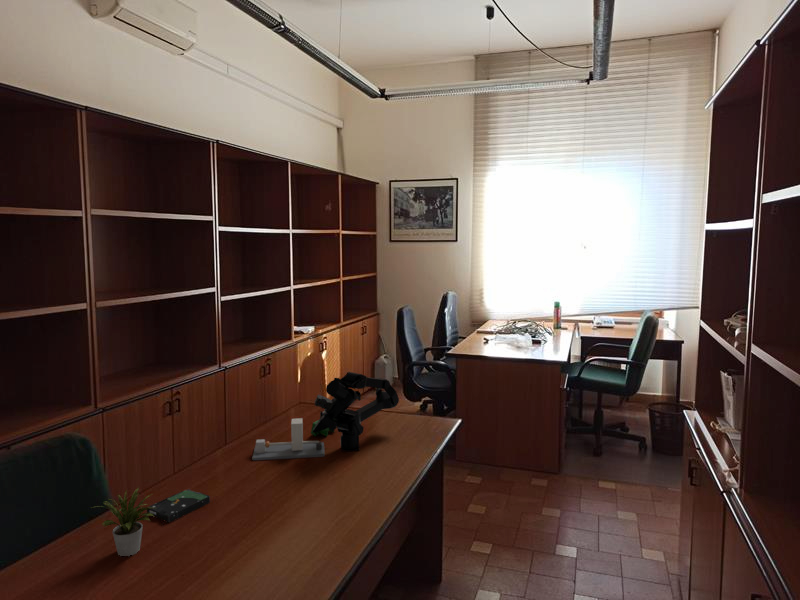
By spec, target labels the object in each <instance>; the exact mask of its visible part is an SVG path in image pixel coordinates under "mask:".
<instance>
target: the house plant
mask: <svg viewBox="0 0 800 600" xmlns="http://www.w3.org/2000/svg"><path fill="white" fill-rule="evenodd" d="M127 490H128V489H125V492H124V497H123V498H122V496H121V495H120V494H119V493H117V494H116V495H117V498H118V502H119V504H120V506H119V504H118V503H117V501H115V500H114V499H110V498H109V500H111V501H113V502H114V503H115V504H116V505H117V508H116V507H115V506H114V505H112V504H111V503H110V502H109V501H105V500H104V502H102V504H103V505H105V506H103V505H101V506H100V505H97V506H93V507H91V509H92V508H96V507H97V508H98V507H99V508H100V507H103V508H106V509H108V510H109V511H110V512H111V513H112V516H115V517H116V518H117V519H118V522H119V523H117V522H115V521H114V520H111V519H107V520H104V521H103V522H102V524H101V526H104V527H107V526H110V525H117V526H115V527H114V528H113V530H112V535H113V539H114V544H115V548H116V551H117V555H118V556H119V555H120V556H119V557H121V556H128V557H131V556H130V555H132V556H134V555H136V554H138V553H139V552H140V549H141V544H142V534H143V526H144V525H143V523H141V522H140V521H149V522H151V520H150V518H149V517H152V516H153V514H152V513H147V512H144V511H147V509H151V508H153V507H149V506H150V505H149V504H147V503H144V502H145V500H146V499H148V498H149V497H151V496H152V495H153V493H151V494H149V495H147V496H145V497H144V498H142V500H141V501H140V502H139V503H138V505H137V506H135V503H136V501H137V498H138V496H139V494H140V492H141V491H140V487H137V488H135V490H134V492H133V493H132V495H131V497H130V500H129V502H128V497H127V493H128V492H127ZM139 491H140V492H139ZM146 505H148V506H147V507H146ZM143 506H145V507H143ZM143 512H144V513H143ZM142 516H143V517H142ZM152 518H155V517H154V516H153V517H152ZM138 551H139V552H138ZM137 552H138V553H137Z"/></svg>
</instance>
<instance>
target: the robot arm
mask: <svg viewBox="0 0 800 600" xmlns="http://www.w3.org/2000/svg"><path fill="white" fill-rule="evenodd" d="M365 388H375V396H376V397H375V399H374V400H373V401H370V402H369V403H367V404H365V405H363V406H362V407H360V408H358V409H356V410H354V409H348V408H349V407H350V406H351V405H352V404H353V403H354V402H355V401H356V400H358V401H361V399H362V398H361V396H362V395H361V394H362V393H361V392H360V391H359V390H362V389H365ZM325 390H326V391H325V392H326V394H328V395H329V396H330V397H333V398H331V399H330V398H328V397H326V396H324V395H321V394H317V395H316V398H315V400H314V406H315V407H317V408H318V407H320V408H321V409H323V411H322V410H321V411H320V412H319V414H320V415H319V419H318V420H319V421H318V422H317V424H316V426H315V427H314V429H313V432H314V433H316V432H319V431H321V430H324V429H327V428H329V429H330V430H332V431H334V432H335V430H336V429H337V432H338V433H341V435H340V449H342V450H341V451H342V452H353V451H354V452H355V451H357V452H358V451H360V450H361V449H360V448H361V447H360V436H361V435H362V434H363V433H364V426H363V425H362V422H364V421H365V420H368V419H369V418H371V417H372V416H374V415H376V414H377V413H379V412H381V411H383V410H387V409H388V410H389V409H392V408H396V407H397V406H398V405H399V402H400V398H399V395H398V393H397V391H396V389H395V387H393V386H392V385H391V382H390V381H389V380H388V379H385V378H381V377H380V378H379V377H378V378H375V377H368V376H367V375H364V374H362V373H357V372H351V371H348V372H346V374H345V375H344V376H343V377H341V378H340V377H339V378H338V377H334V379H332V380H330V381H329V382H328V384H326V387H325ZM334 419H335V420H336V421H335V420H334Z"/></svg>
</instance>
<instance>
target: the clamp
mask: <svg viewBox="0 0 800 600" xmlns="http://www.w3.org/2000/svg"><path fill="white" fill-rule="evenodd" d="M334 420H335V419H334ZM318 421H319V419H318V420H316V421H313V422H312V426H311V430H310V434H311V435H312V436H314V437H317V436H319V435H323V436H325V437H328V435H329V432H331V433H334V432H335V430H334V431H332V430H330V429H329V428H327V429H324V430H321V431H319V432H316V433H314V432H313V429H314V427H315V426H316V424H317V422H318ZM335 421H336V420H335Z"/></svg>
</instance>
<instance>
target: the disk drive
mask: <svg viewBox="0 0 800 600" xmlns="http://www.w3.org/2000/svg"><path fill="white" fill-rule="evenodd" d="M210 497H211V496H210V495H207V494H204V493H202V492H198V491H197V492H196V491H194V490H191V489H190V488H188V489H185V490H182V491H180V492H178V493H175V494H173V495H171V496H169V497H166V498H165V499H163V500H160V501H158V502H156V503H153V504H150V505H148V507H153V508H151V509H147V510H146V513H152V514H153V516H155V517H157V518H160V519H162V520H165V521H167V522H166V523H168V522H171V521H173V522H175V521H176V520H175V519H177V520H179V519H180V517H181V518H182V516H183V515H185V514H187V515H188V513H189V514H190V512H191V513H193V512H194V510H195V511H197V510H198V508H199V509H201V508H203V507H205V506H207V505H209V504H210V503H211V498H210ZM208 503H209V504H208ZM206 504H207V505H206ZM204 505H205V506H204ZM200 507H201V508H200ZM196 509H197V510H196ZM192 511H193V512H192ZM185 516H186V515H185ZM155 517H154V518H155ZM183 517H184V516H183ZM157 518H156V519H157ZM178 518H179V519H178ZM160 519H159V520H160ZM162 520H161V521H162ZM174 520H175V521H174ZM165 521H164V522H165ZM171 523H172V522H171Z"/></svg>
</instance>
